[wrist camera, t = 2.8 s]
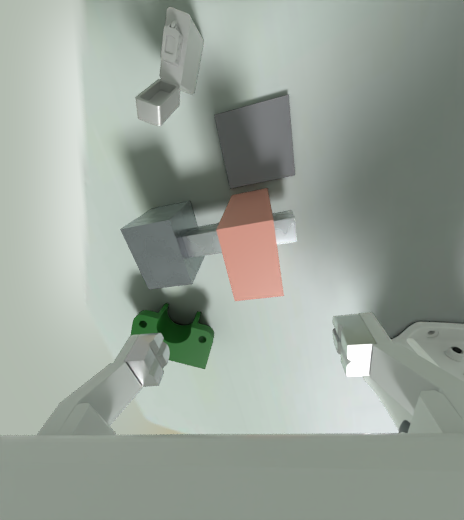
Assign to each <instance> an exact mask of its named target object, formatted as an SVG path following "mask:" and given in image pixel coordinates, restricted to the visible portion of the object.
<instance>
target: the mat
mask: <svg viewBox="0 0 464 520" xmlns="http://www.w3.org/2000/svg"><path fill="white" fill-rule="evenodd" d="M214 116H215V121H216V125H217V130H218V134H219V139H220V144H221V148H222V153H223V158H224V162H225V167H226V172H227V176H228V181H229V186H230V189H231V188H236V187H240V186H245V185H250V184H255V183H260V182H265V181H269V180H274V179H279V178H284V177H289V176H293V175H295V167H294V155H293V142H292V130H291V118H290V106H289V95H285V96H281V97H278V98H274V99H270V100H267V101H263V102H260V103H256V104H252V105H249V106H245V107H241V108H238V109H234V110H231V111H227V112H223V113H220V114H216V115H214Z"/></svg>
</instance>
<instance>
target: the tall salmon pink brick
mask: <svg viewBox="0 0 464 520" xmlns="http://www.w3.org/2000/svg"><path fill="white" fill-rule="evenodd" d="M216 231H217V235H218V239H219V242H220V246H221V250H222V254H223V258H224V261H225V265H226V269H227V273H228V277H229V280H230V284H231V288H232V292H233V296H234V299H235V301H241V300H250V299H259V298H269V297H278V296H284V294H283V287H282V279H281V272H280V265H279V257H278V250H277V243H276V235H275V228H274V221H273V215H272V210H271V205H270V199H269V194H268V189H267V188H265V189H260V190H255V191H250V192H245V193H240V194H235V195H232V196H231V198H230V201H229V203H228V205H227V207H226V209H225V212H224V214H223V216H222V218H221V220H220V222H219V225H218V227H217V229H216Z"/></svg>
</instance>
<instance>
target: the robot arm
mask: <svg viewBox="0 0 464 520" xmlns="http://www.w3.org/2000/svg"><path fill="white" fill-rule="evenodd" d="M333 325H334V327H335V328H334V329H333V339H334V344H335V347H336V350H337V352H338V353H339V354H340V355H341V363H342V366H343V368H344V371H345V373H346V376H362V377H363V379H364V380H365V382H366V383H367V384H368V385H369V386H370V388H371V389H372V390H373V391H374V393H375V394H376V395H377V397H378V398H379V400H380V401H381V403H382V404H383V406H384V407H385V409H386V410H387V412H388V414H389V415H390V417H391V418H392V420H393V422H394V424H395V425H396V427H397V429H398V431H399V433H345V434H176V435H175V434H170V435H116V433H115V431H114V430H113V429H112V428H111V427H110V425H111V424H112V422H113V421H114V420H115V419H116V418H117V417H118V416H119V414H120V413H121V412H122V411H123V410H124V409H125V408H126V406H127V405H128V404H129V403H130V402H131V401H132V400H133V398H134V397H135V396H136V395H137V394H138V393H139V391H140V390H141V389H142V388H143V387H146V386H159V384H160V381H161V379H162V376H163V374H164V371H163V367H164V366H165V365H166V364H167V363H168V360H169V354H170V351H169V347H168V345H167V344H166V343H165V342H163V339H164V337H163V335H162V334H161V333H150V334H138V335H131V336H130V337H129V338H128V340H127V341H126V343H125V345H124V346H123V348H122V349H121V351H120V353H119V354H118V356H117V357H116V359H115V361H114V362H113V363H110V364H109V365H108V366H106V367H105V368H104V369H102V370H101V371H100V372H99V373H97V374H96V375H95V376H93V377H92V378H91V379H90V380H89V381H87V382H86V383H85V384H83V385H82V386H81V387H79V388H78V389H77V390H76V391H74V392H73V393H72V394H71V395H69V396H68V397H67V398H66V399H64V400H63V401H62V402H60V403H59V405H58V407H57V408H56V409H55V410H54V412H53V413H52V415H51V416H50V417H49V419H48V420H47V421H46V423H45V424H44V425H43V427H42V428H41V430H40V431H39V433H38V434H37V435H3V436H2V435H0V520H464V324H459V323H440V322H416V323H414V324H412V325H411V326H409V327H408V328H407V329H406V330H405V331H403V332H402V333H401V334H400V335H399V336H397V337H395V338H393V339H390V338H389V336H388V335H387V333H386V332H385V330H384V329H383V327H382V326H381V324H380V323H379V321H378V320H377V318H376V317H375V315H374V314H373V313H371V312H367V313H358V314H349V315H339V316H333Z"/></svg>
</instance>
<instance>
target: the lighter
mask: <svg viewBox="0 0 464 520" xmlns="http://www.w3.org/2000/svg"><path fill="white" fill-rule="evenodd" d="M203 44H204V40H203V38H202V36H201V34H200V33H199V31H198V29H197V27H196V25H195V24H194V22H193V20H192V18H191V16H190V15H189V14H188V13H186V12H183V11H180V10H178V9H175V8H173V7H168V8H167V12H166V22H165V26H164V31H163V40H162V49H161V67H160V78H161V79H158V80H157V81H155V82H154V83H153V84H151V85H150V86H149V87H148V88H146V89H145V90H144V91H143V92H141V93H140V94H139V95H138V96H136V97H135V98H136V106H137V114H138V119H139V120H142V121H145V122H148V123H151V124H153V125H156V126H161V125H162V124H163V123H164V122H165V121H166V120H167V119H168V118H169V116H170V115H171V114H172V113H173V112H174V111H175V110H176V109H177V108H178V107H179V105H180V91H183V92H186V93H189V94H192V95H193V94H194V93H195V89H196V83H197V78H198V72H199V66H200V61H201V55H202V50H203Z"/></svg>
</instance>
